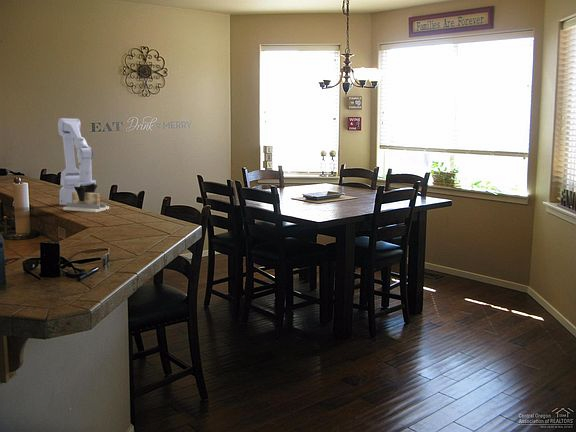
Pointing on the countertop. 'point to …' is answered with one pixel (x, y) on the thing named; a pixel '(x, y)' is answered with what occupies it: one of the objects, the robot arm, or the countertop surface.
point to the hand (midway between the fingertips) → (86, 200)
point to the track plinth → (85, 207)
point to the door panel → (87, 198)
